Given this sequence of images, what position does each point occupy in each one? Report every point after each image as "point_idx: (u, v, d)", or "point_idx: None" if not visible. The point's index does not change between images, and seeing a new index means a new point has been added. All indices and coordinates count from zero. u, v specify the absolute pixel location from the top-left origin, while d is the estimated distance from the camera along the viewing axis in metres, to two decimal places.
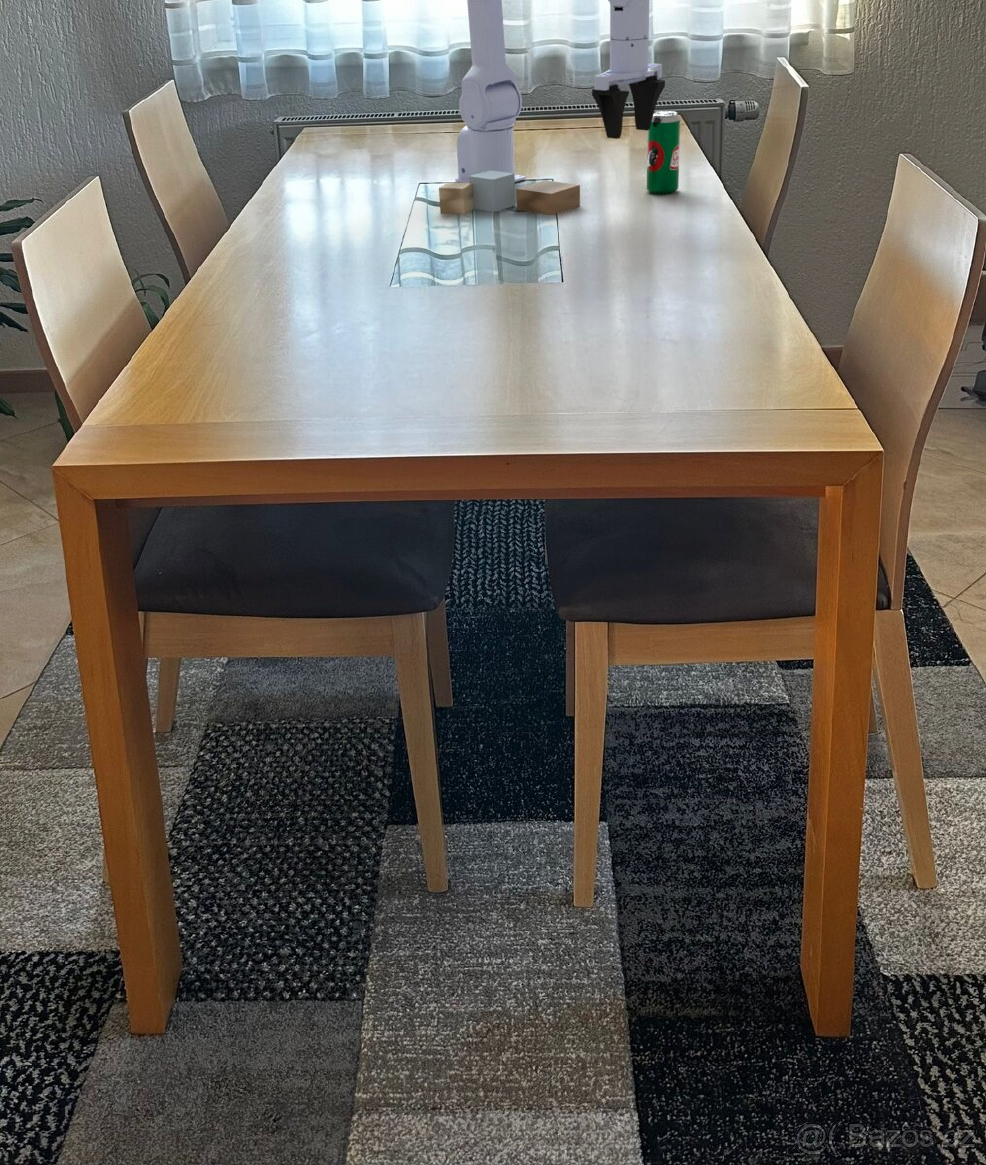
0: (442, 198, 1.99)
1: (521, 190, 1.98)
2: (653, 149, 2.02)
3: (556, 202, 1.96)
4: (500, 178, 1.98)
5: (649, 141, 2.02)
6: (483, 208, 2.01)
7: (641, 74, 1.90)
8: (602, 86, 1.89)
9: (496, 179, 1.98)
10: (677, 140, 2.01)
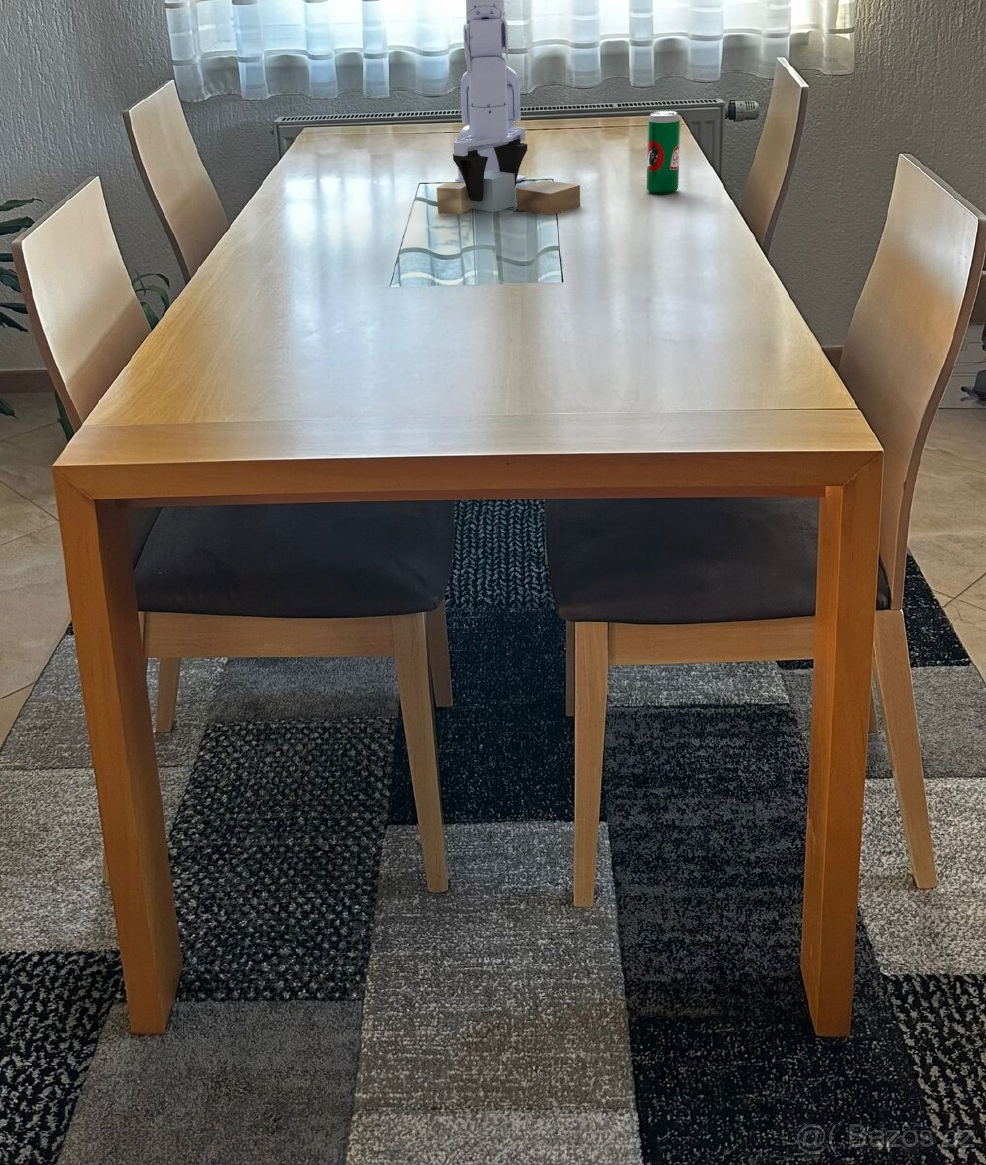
0: (440, 198, 1.99)
1: (521, 190, 1.98)
2: (653, 149, 2.02)
3: (555, 202, 1.96)
4: (499, 178, 1.98)
5: (649, 141, 2.02)
6: (483, 208, 2.01)
7: (500, 140, 1.95)
8: (460, 152, 1.93)
9: (495, 179, 1.98)
10: (677, 140, 2.01)
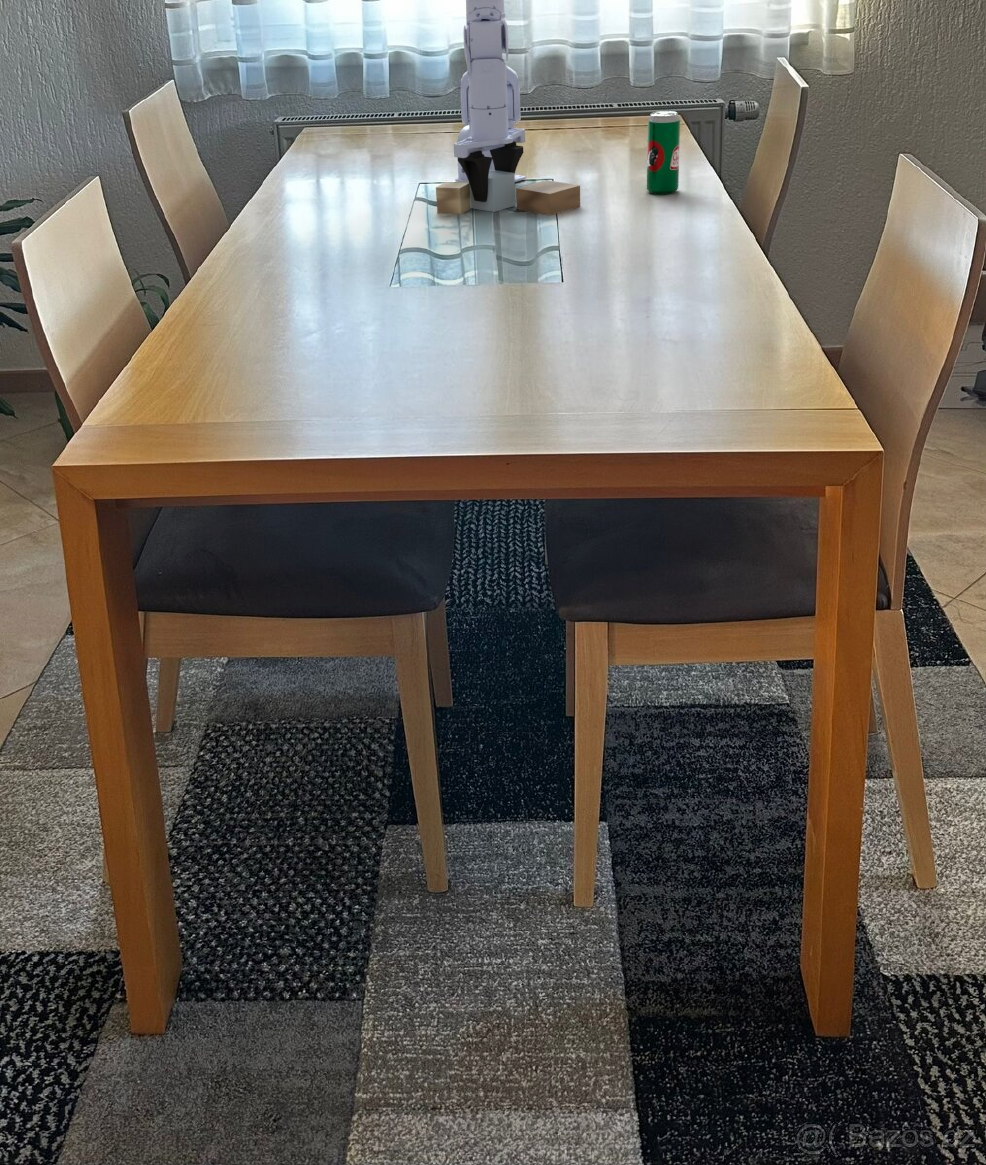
0: (439, 197, 1.99)
1: (521, 190, 1.98)
2: (653, 149, 2.02)
3: (555, 203, 1.96)
4: (500, 177, 1.98)
5: (649, 141, 2.02)
6: (483, 207, 2.01)
7: (500, 141, 1.95)
8: (460, 154, 1.93)
9: (496, 178, 1.98)
10: (677, 140, 2.01)
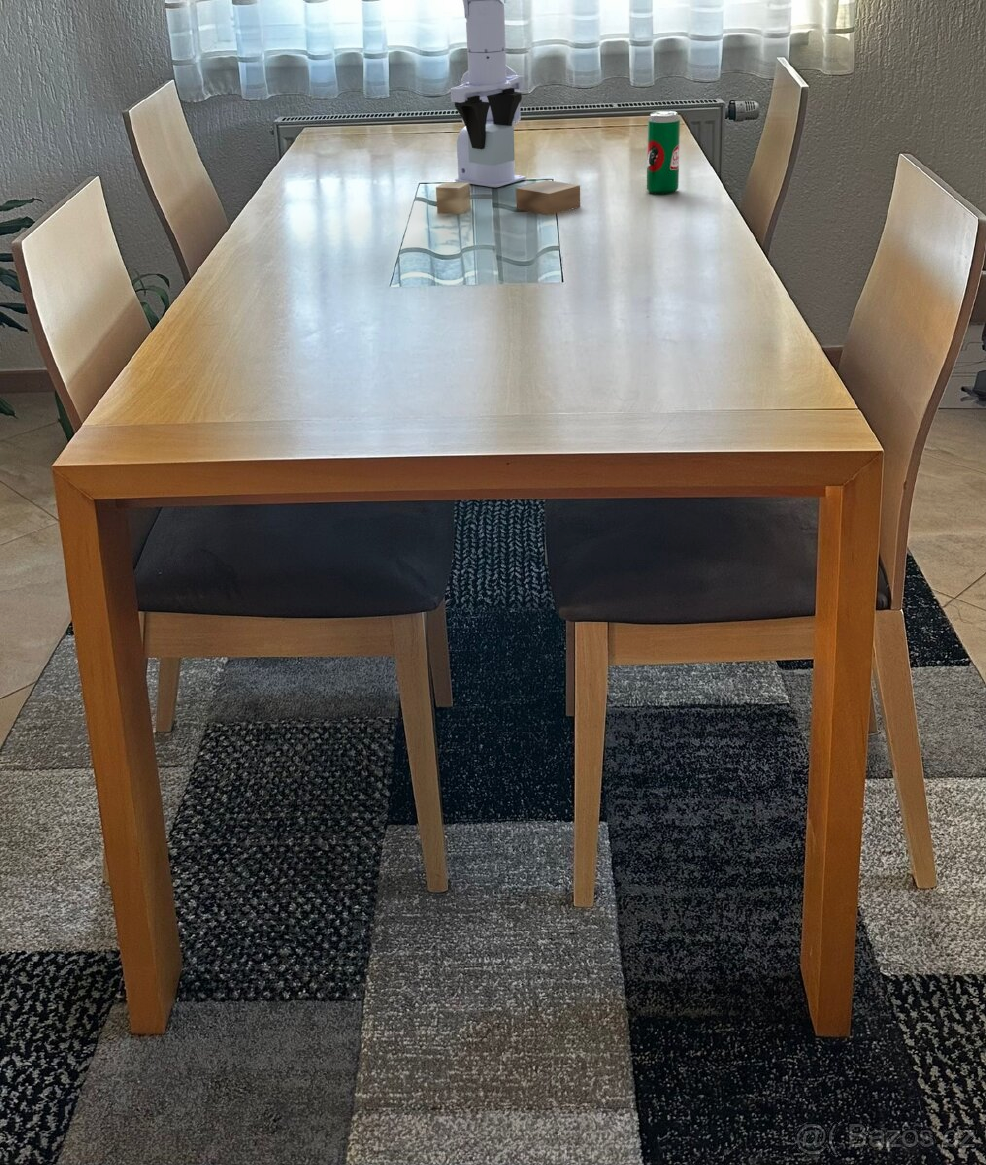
0: (439, 197, 1.99)
1: (521, 190, 1.98)
2: (653, 149, 2.02)
3: (554, 203, 1.96)
4: (499, 131, 1.95)
5: (649, 141, 2.02)
6: (482, 161, 1.97)
7: (498, 86, 1.91)
8: (458, 98, 1.89)
9: (495, 131, 1.94)
10: (677, 140, 2.01)
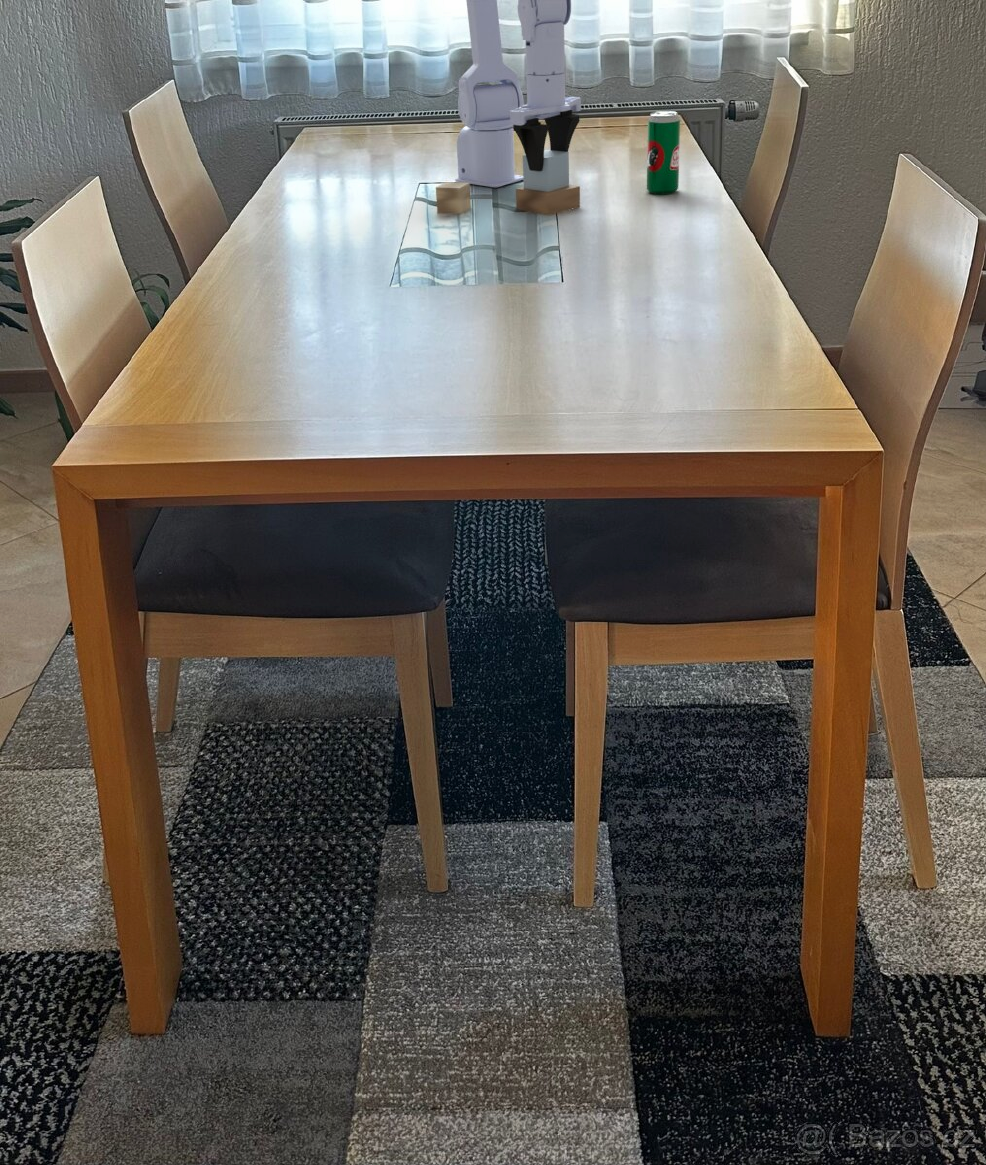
0: (439, 197, 1.99)
1: (520, 190, 1.98)
2: (653, 149, 2.02)
3: (553, 203, 1.96)
4: (555, 157, 1.95)
5: (649, 141, 2.02)
6: (537, 187, 1.97)
7: (557, 109, 1.91)
8: (517, 121, 1.89)
9: (551, 158, 1.94)
10: (677, 140, 2.01)
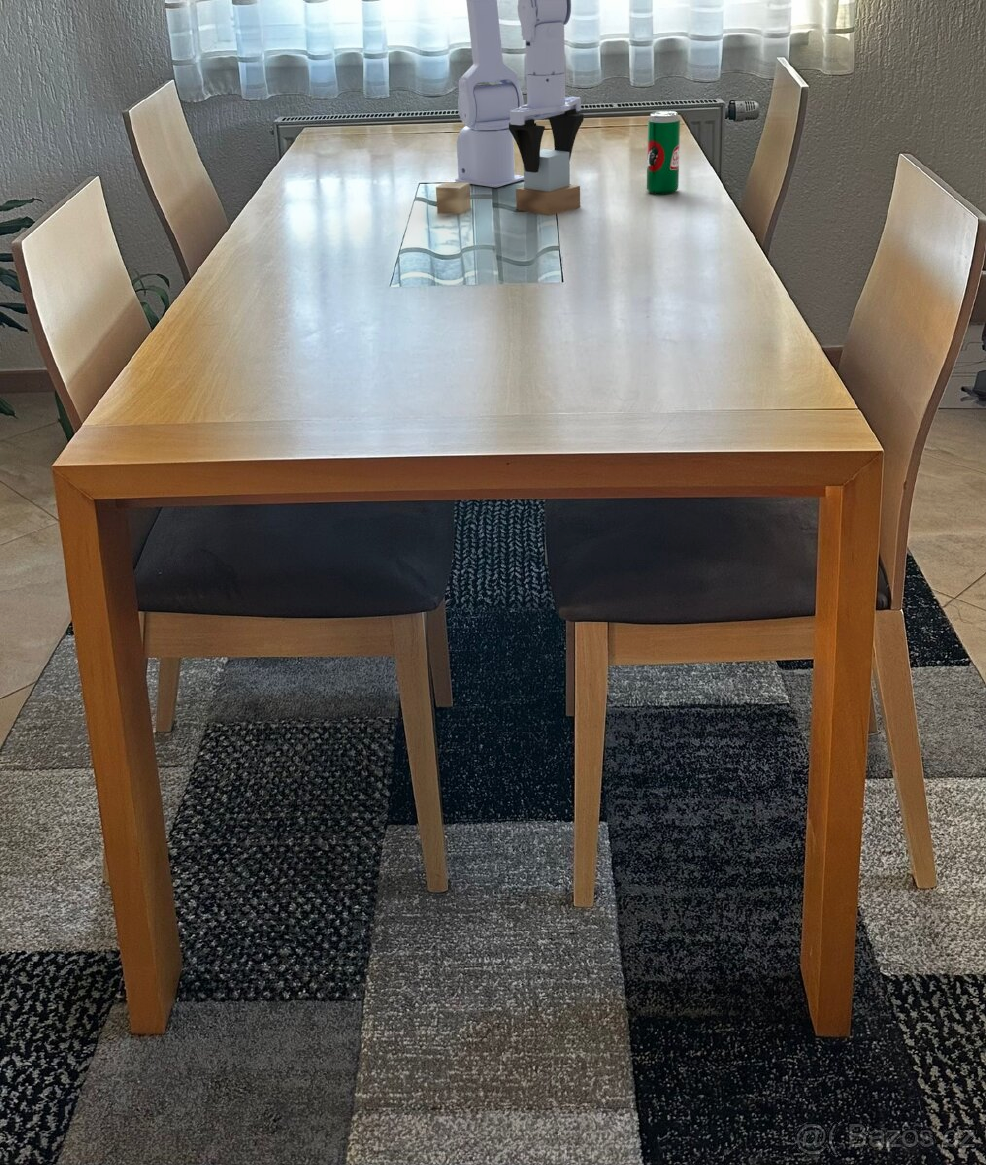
0: (439, 197, 1.99)
1: (520, 190, 1.98)
2: (653, 149, 2.02)
3: (554, 203, 1.96)
4: (555, 156, 1.95)
5: (649, 141, 2.02)
6: (537, 187, 1.97)
7: (557, 109, 1.91)
8: (517, 121, 1.89)
9: (551, 157, 1.94)
10: (677, 140, 2.01)
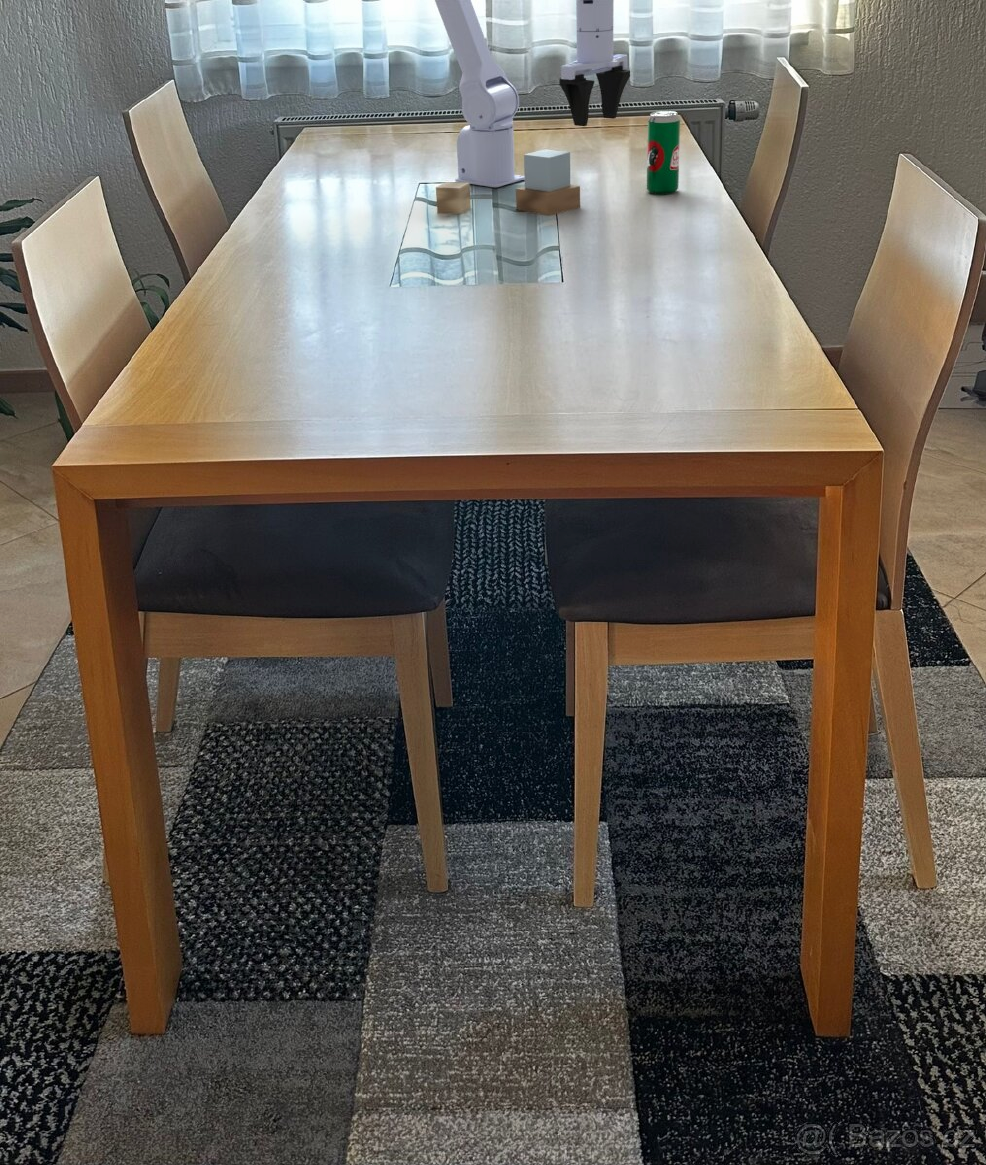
0: (439, 197, 1.99)
1: (520, 190, 1.98)
2: (653, 149, 2.02)
3: (553, 203, 1.96)
4: (556, 156, 1.95)
5: (649, 141, 2.02)
6: (538, 187, 1.97)
7: (606, 64, 1.99)
8: (568, 75, 1.97)
9: (552, 157, 1.94)
10: (677, 140, 2.01)
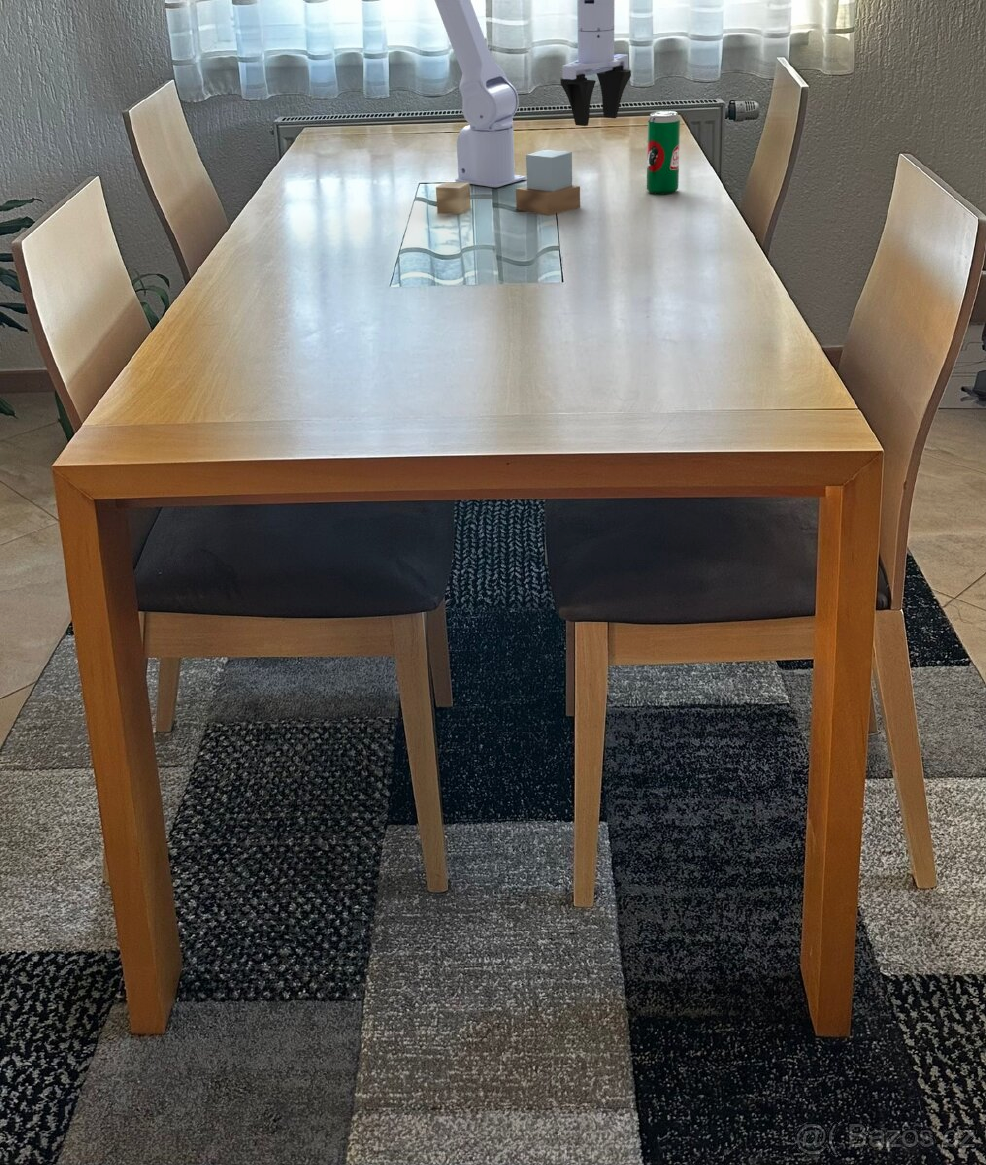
0: (439, 197, 1.99)
1: (520, 190, 1.98)
2: (653, 149, 2.02)
3: (553, 203, 1.96)
4: (559, 156, 1.95)
5: (649, 141, 2.02)
6: (541, 187, 1.97)
7: (607, 64, 1.99)
8: (569, 75, 1.98)
9: (555, 157, 1.94)
10: (677, 140, 2.01)
